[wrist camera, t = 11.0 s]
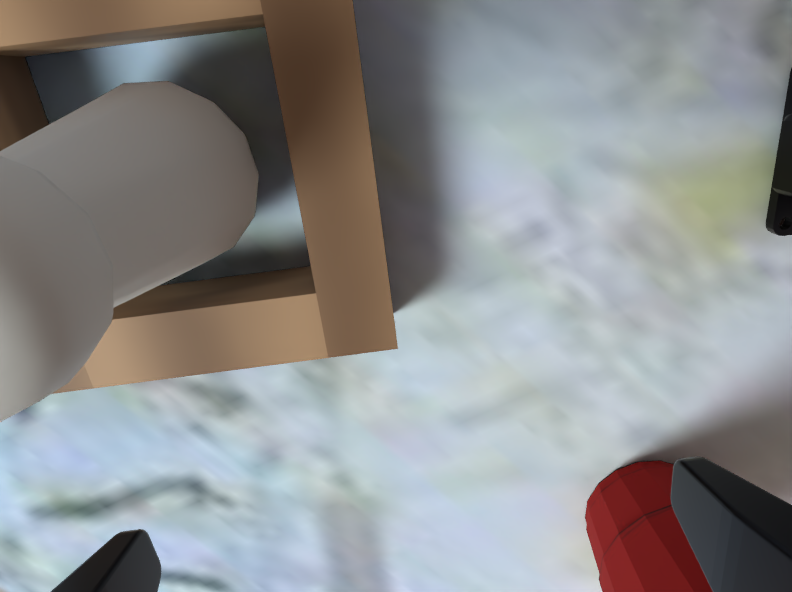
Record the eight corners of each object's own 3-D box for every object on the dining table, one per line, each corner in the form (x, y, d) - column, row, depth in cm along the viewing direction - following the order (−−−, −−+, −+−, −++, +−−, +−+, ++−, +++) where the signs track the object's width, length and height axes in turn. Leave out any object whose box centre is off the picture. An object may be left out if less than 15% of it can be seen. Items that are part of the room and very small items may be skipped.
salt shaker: (74, 105, 18) (-539, 155, 6) (235, 60, 17) (-51, 10, 5) (148, 262, 20) (-178, 536, 8) (291, 224, 20) (178, 447, 8)
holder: (342, -75, 16) (338, -107, 13) (393, 314, 21) (397, 348, 19) (-88, -22, 16) (-182, -44, 13) (67, 355, 21) (23, 397, 18)
